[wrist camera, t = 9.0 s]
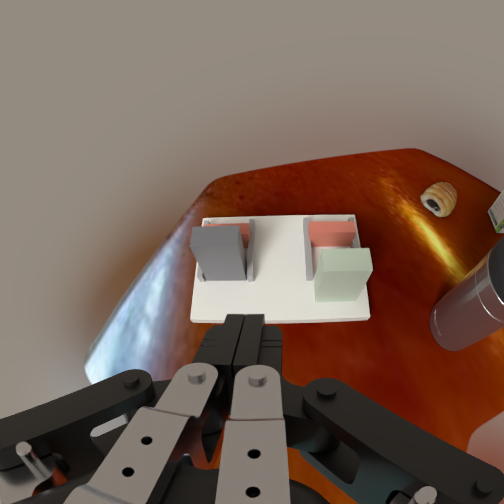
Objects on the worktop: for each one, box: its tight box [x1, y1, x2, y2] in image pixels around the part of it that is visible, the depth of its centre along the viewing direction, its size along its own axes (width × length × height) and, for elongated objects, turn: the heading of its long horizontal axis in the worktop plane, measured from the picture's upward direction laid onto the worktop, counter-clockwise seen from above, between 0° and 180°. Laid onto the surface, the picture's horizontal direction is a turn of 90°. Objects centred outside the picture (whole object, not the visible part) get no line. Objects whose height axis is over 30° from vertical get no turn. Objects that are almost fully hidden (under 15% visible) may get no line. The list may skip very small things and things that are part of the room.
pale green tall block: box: [314, 248, 373, 303], centre depth 39 cm, size 6×3×10 cm, turn 88°
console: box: [190, 215, 370, 323], centre depth 46 cm, size 26×18×6 cm
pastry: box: [420, 182, 457, 217], centre depth 51 cm, size 9×7×4 cm
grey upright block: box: [190, 225, 247, 281], centre depth 43 cm, size 6×3×10 cm, turn 88°
